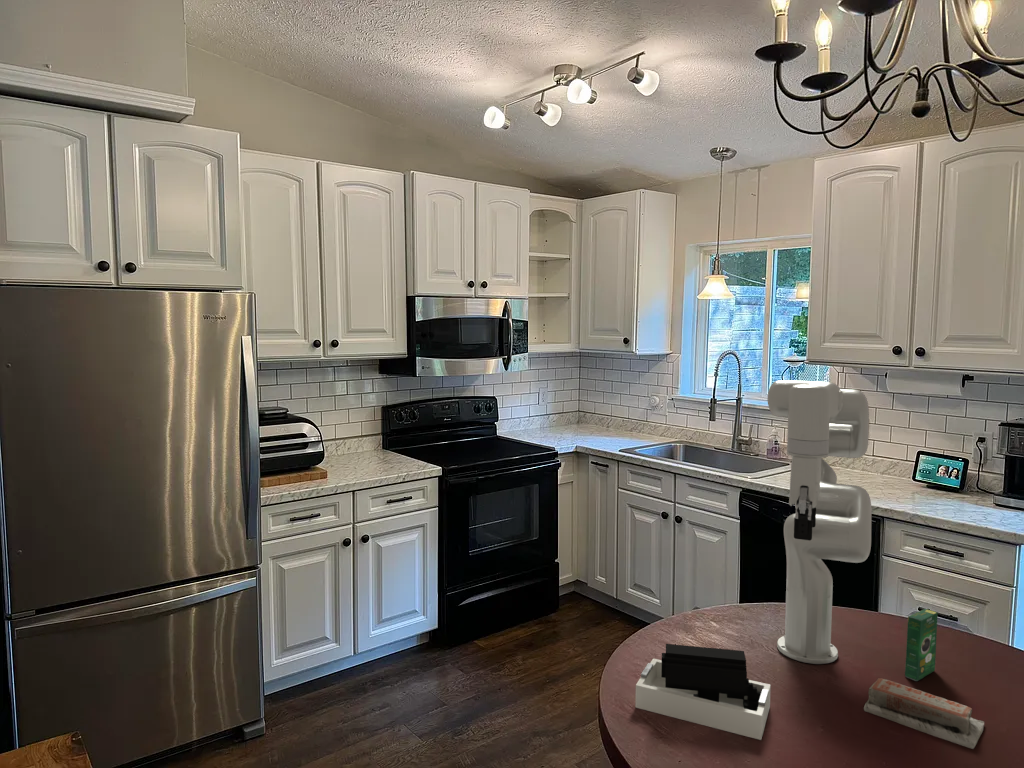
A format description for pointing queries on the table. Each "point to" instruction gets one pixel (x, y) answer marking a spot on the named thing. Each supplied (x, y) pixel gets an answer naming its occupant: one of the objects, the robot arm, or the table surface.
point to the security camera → (709, 673)
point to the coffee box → (921, 644)
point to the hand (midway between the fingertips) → (804, 532)
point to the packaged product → (924, 712)
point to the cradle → (701, 704)
